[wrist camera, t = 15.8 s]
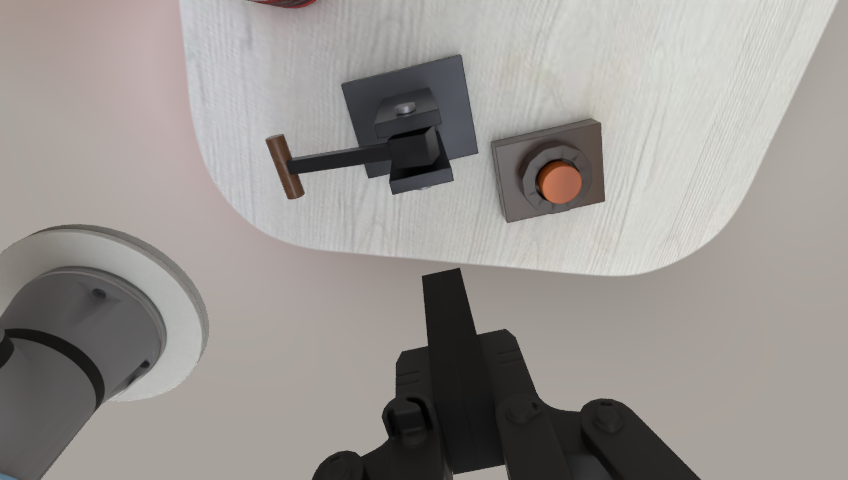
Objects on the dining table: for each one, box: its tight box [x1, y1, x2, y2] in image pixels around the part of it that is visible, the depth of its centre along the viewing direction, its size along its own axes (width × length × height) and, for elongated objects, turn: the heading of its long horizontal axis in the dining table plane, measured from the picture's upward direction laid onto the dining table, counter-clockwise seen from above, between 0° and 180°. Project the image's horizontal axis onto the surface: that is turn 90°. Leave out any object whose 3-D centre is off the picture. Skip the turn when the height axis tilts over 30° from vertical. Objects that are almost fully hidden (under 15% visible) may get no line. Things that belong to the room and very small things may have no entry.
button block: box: [491, 119, 605, 223], centre depth 43 cm, size 10×8×4 cm
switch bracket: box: [341, 55, 478, 195], centre depth 36 cm, size 11×9×14 cm
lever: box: [265, 126, 440, 199], centre depth 33 cm, size 13×5×2 cm, turn 103°
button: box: [538, 161, 582, 204], centre depth 41 cm, size 4×4×2 cm
